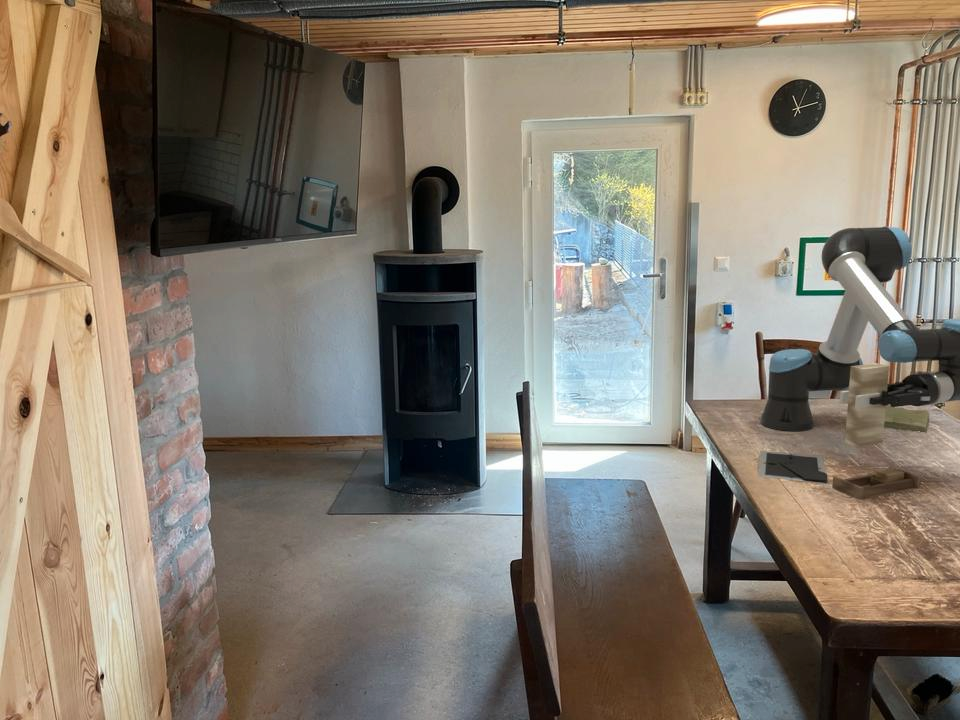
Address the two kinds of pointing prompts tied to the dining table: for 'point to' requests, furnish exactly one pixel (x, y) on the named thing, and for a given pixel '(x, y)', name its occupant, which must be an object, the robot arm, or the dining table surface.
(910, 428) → the decorative tile
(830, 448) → the dining table surface
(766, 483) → the dining table surface
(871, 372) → the tall grained pillar
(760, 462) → the picture frame
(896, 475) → the oak offcut
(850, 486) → the tray
